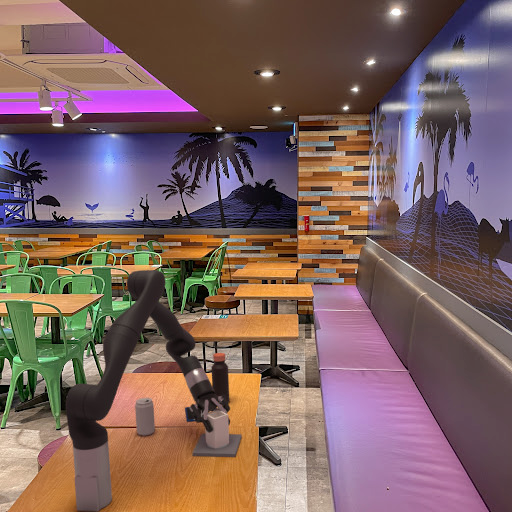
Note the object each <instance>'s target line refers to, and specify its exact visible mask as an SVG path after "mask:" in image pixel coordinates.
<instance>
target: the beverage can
mask: <svg viewBox="0 0 512 512" xmlns="http://www.w3.org/2000/svg"><path fill="white" fill-rule="evenodd" d="M134 408H135V409H134V411H135V422H136V423H135V424H136V432H137V434H138V435H139V436H144V437H145V436H150V435H152V434H153V433H154V432H155V430H156V429H155V428H156V427H155V426H156V423H155V411H154V409H155V407H154V402H153V399H152V398H151V397H142V398H138V399H136V400H135V404H134Z"/></svg>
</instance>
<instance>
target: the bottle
mask: <svg viewBox="0 0 512 512" xmlns="http://www.w3.org/2000/svg"><path fill="white" fill-rule="evenodd" d="M212 357H213V358H212V359H213V364H212V365H211V366H210V367H211V385H212V387H213V389H214V392H215V394H216V395H217V396H218V397H219V396H222V395H223V394H224V395H225V396H226V398H227V401H228V404H229V403H230V382H229V366H228V364H227V363H226V362H225V361H226V353H224V352H217V353H214V354H213V356H212ZM218 403H219V404H221V403H220V401H218ZM221 405H222V404H221Z"/></svg>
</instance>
